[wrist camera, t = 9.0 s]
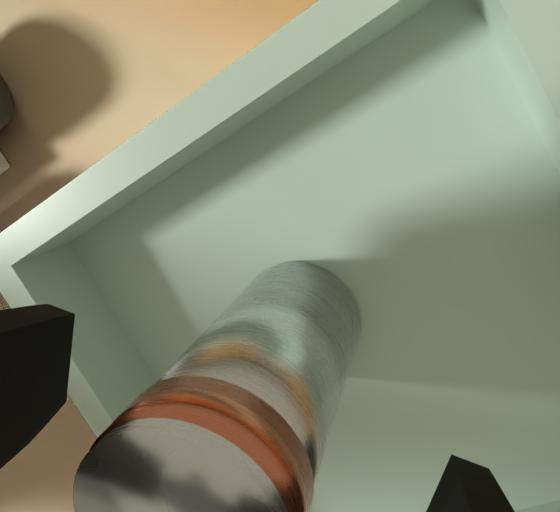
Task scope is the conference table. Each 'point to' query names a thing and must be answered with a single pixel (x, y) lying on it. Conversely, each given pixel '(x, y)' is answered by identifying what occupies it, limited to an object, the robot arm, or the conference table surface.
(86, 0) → the conference table surface
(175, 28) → the conference table surface
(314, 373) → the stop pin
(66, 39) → the conference table surface
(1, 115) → the trolley deck
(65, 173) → the conference table surface
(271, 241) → the tray
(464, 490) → the robot arm
